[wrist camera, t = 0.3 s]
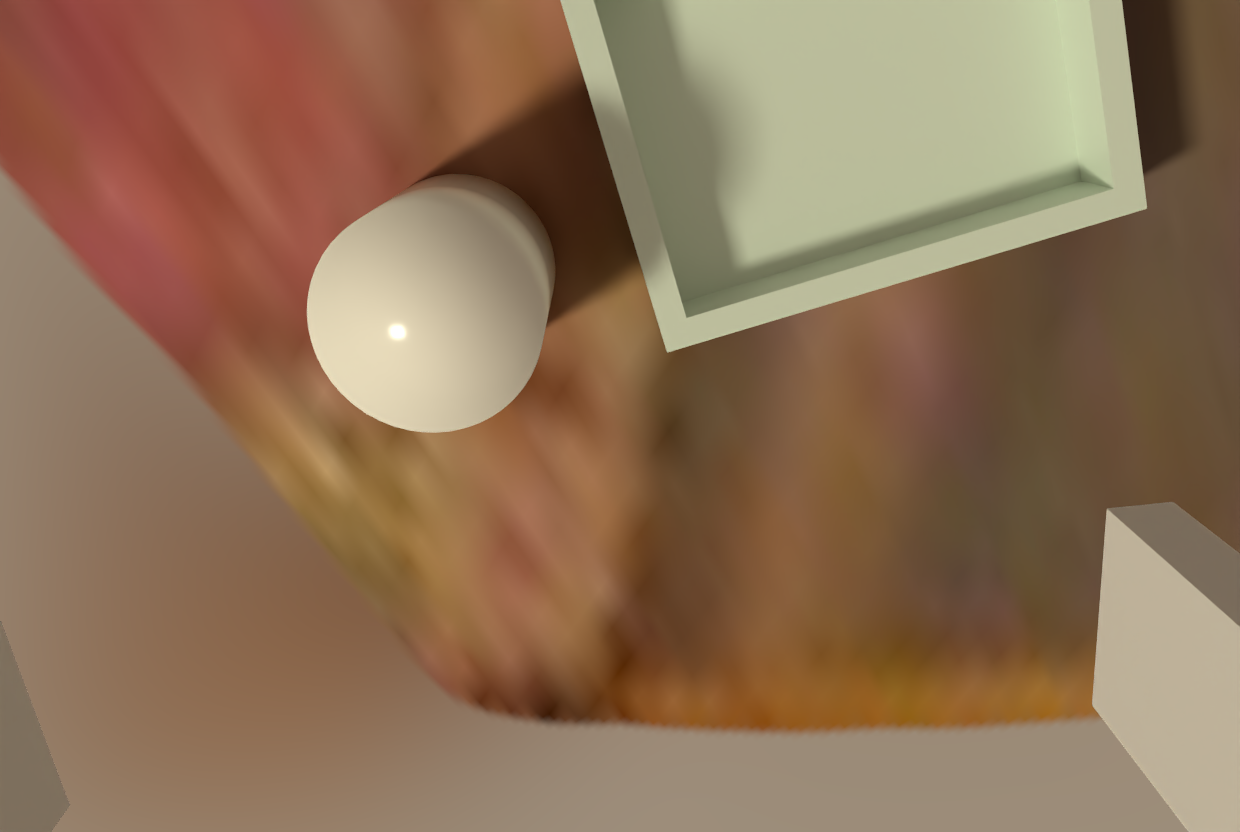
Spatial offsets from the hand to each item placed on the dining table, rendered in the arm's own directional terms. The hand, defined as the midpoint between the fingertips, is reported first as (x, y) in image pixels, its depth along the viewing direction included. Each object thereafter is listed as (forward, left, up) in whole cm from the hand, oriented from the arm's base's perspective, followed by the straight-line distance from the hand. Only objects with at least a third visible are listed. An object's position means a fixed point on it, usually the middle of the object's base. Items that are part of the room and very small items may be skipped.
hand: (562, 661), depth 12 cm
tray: (-3, +10, -26) cm, 28 cm away
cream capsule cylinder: (-1, -5, -26) cm, 27 cm away
